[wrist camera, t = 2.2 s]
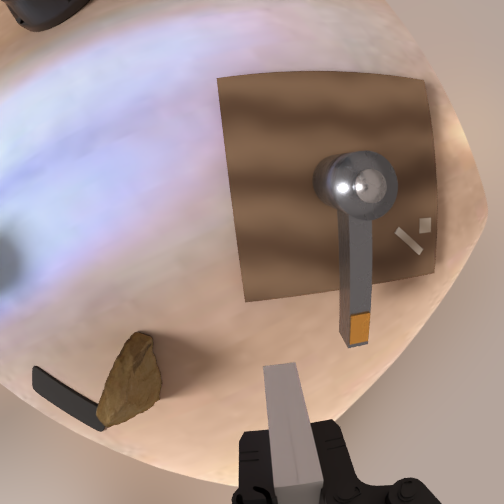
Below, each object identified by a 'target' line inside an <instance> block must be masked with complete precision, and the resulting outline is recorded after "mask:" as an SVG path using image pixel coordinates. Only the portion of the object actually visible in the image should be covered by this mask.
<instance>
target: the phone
mask: <svg viewBox="0 0 504 504" xmlns="http://www.w3.org/2000/svg"><path fill="white" fill-rule="evenodd" d="M32 386H33V389H34V390H35V391H36V392H37V393H38V394H40V395H41V396H42V397H44V398H45V399H47V400H48V401H50V402H51V403H53V404H54V405H55V406H57V407H59V408H60V409H62V410H63V411H65V412H66V413H68V414H70V415H71V416H73V417H74V418H76V419H78V420H79V421H81V422H83V423H85V424H86V425H88V426H90V427H92V428H93V429H95V430H97V431H100V432H102V431H103V430H104V428H105V426H104V425H103V424H102V423H101V422H100V421H99V419H98V418H97V416H96V411H97V407H98V404H96V403H94V402H92V401H91V400H89V399H87V398H85V397H84V396H82V395H80V394H79V393H77V392H75V391H74V390H72V389H70V388H69V387H67V386H66V385H64V384H63V383H61V382H60V381H58V380H57V379H55V378H54V377H52V376H51V375H49V374H48V373H46V372H45V371H43V370H42V369H41V368H39V367H37V366H34V367H33V370H32Z"/></svg>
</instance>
